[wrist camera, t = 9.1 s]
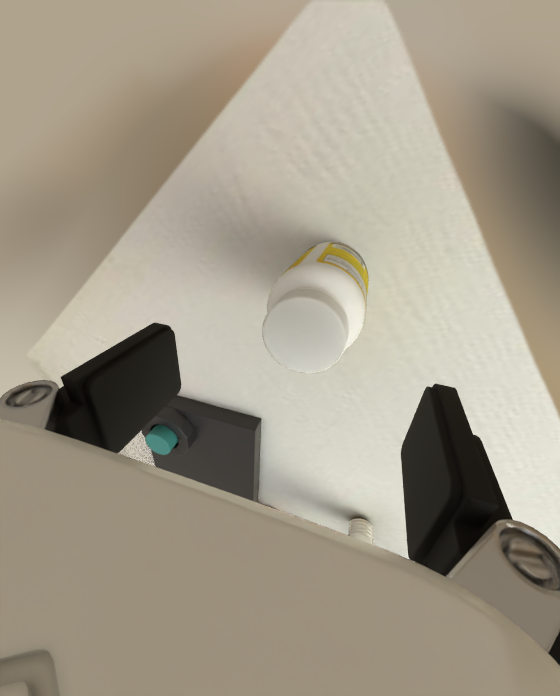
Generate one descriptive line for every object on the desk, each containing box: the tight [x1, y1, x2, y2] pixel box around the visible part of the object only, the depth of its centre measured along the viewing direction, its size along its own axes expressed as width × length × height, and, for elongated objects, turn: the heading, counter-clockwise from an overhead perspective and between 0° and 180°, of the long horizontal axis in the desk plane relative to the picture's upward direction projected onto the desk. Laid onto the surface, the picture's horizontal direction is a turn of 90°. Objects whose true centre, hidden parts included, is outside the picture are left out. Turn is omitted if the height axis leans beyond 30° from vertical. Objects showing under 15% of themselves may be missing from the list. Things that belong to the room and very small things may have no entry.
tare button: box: [145, 425, 178, 455], centre depth 31 cm, size 3×3×2 cm
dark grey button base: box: [142, 396, 261, 503], centre depth 35 cm, size 16×14×4 cm
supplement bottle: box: [262, 242, 368, 373], centre depth 17 cm, size 5×5×10 cm
